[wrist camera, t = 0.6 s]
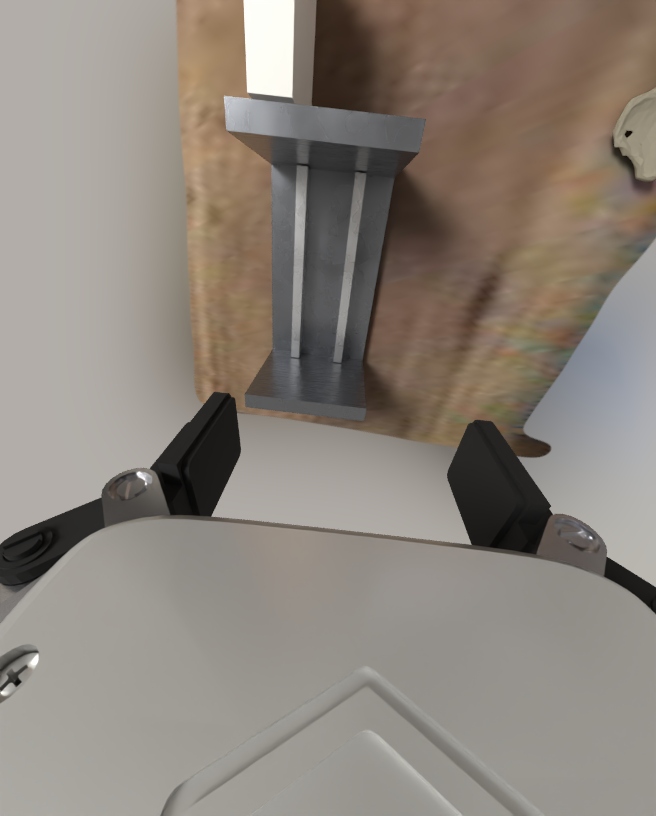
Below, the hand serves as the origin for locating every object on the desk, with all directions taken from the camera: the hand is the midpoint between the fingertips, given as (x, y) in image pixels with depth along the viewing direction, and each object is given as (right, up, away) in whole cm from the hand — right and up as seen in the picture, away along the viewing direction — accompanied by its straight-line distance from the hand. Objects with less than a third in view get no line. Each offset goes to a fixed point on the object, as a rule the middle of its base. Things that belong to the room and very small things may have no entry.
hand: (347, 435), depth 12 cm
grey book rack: (-1, +17, +22) cm, 28 cm away
